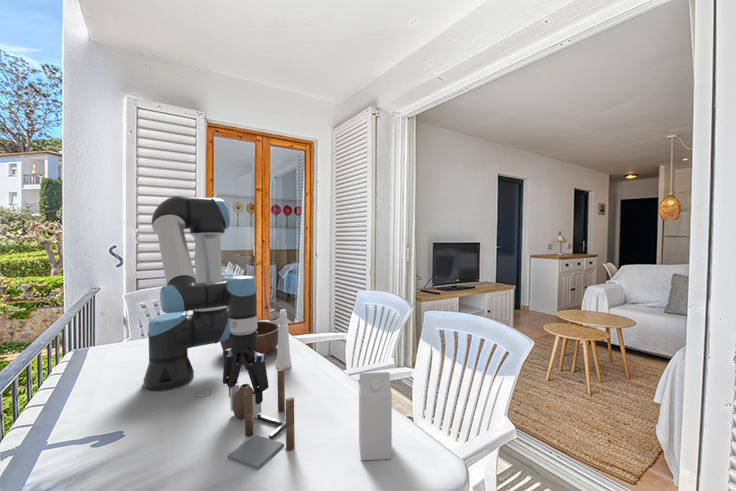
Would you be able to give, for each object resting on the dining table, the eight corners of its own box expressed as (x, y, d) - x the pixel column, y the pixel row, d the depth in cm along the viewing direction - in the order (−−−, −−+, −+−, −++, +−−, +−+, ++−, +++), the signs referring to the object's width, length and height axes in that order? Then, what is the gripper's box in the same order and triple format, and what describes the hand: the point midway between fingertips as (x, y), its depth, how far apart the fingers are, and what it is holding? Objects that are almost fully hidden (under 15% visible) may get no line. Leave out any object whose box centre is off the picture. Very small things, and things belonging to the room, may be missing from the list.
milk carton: (358, 442, 85) (358, 367, 84) (387, 440, 85) (387, 366, 85) (360, 461, 78) (360, 379, 77) (391, 459, 78) (391, 378, 77)
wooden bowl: (257, 338, 165) (257, 317, 165) (292, 349, 151) (292, 326, 150) (207, 354, 145) (207, 330, 145) (242, 368, 130) (242, 341, 130)
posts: (243, 435, 87) (242, 389, 87) (280, 407, 101) (280, 368, 100) (291, 451, 81) (290, 402, 81) (324, 419, 95) (324, 377, 94)
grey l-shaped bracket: (241, 430, 90) (241, 426, 90) (258, 418, 95) (258, 414, 95) (271, 440, 86) (271, 435, 85) (287, 426, 91) (287, 422, 91)
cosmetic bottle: (274, 364, 134) (273, 308, 133) (289, 362, 136) (289, 307, 135) (277, 370, 128) (276, 312, 127) (293, 367, 131) (292, 310, 130)
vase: (249, 423, 93) (249, 392, 92) (227, 420, 94) (226, 389, 94) (262, 410, 100) (262, 381, 99) (241, 408, 101) (240, 379, 100)
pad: (227, 458, 79) (227, 455, 79) (255, 436, 87) (255, 434, 87) (257, 469, 75) (257, 466, 75) (283, 445, 83) (283, 443, 83)
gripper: (206, 331, 97) (209, 410, 97) (262, 339, 88) (265, 425, 89) (227, 324, 103) (229, 398, 104) (281, 331, 95) (283, 411, 96)
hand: (246, 411), depth 97 cm, fingers open, 7 cm apart
